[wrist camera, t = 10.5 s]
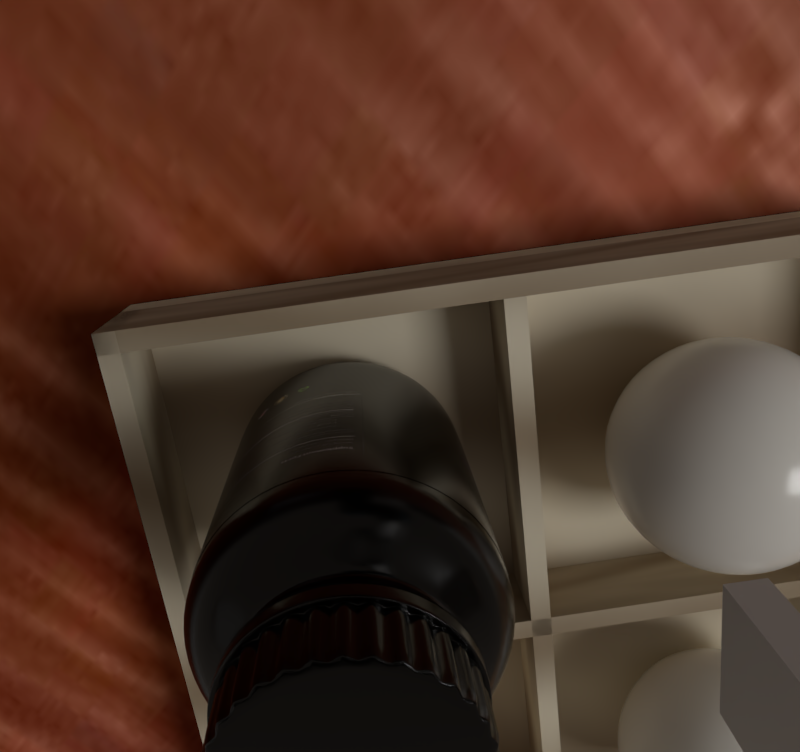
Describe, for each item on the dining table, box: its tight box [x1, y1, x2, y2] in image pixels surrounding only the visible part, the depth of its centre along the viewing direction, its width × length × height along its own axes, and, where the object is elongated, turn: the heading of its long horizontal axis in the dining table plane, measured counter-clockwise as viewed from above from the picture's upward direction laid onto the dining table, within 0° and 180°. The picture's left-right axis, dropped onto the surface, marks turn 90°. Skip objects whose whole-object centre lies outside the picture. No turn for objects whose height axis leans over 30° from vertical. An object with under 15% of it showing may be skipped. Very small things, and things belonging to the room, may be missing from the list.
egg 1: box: [605, 337, 800, 575], centre depth 20 cm, size 6×6×6 cm
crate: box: [91, 211, 800, 752], centre depth 24 cm, size 22×22×4 cm
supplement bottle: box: [184, 362, 515, 752], centre depth 17 cm, size 7×7×12 cm
